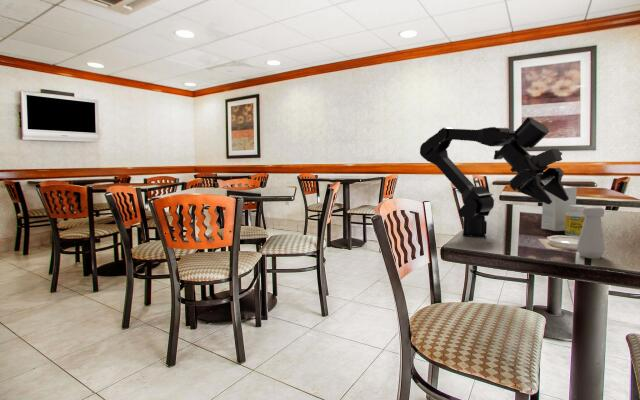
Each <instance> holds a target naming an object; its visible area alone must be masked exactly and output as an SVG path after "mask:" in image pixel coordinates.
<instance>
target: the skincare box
mask: <svg viewBox="0 0 640 400" xmlns="http://www.w3.org/2000/svg"><path fill="white" fill-rule="evenodd" d="M563 188H564V190H565V192H566V194H567V196H568V198H569V200H567V201H563V200H561V199H560V198H558V197H556V196H554V195H553V194H551V193H549V192H547V191H546V190H545V192H546V193H547V195H548V196H549V197H550V199H551V200H552V203H551V204H546V203H544V202H542V211H541V212H542V213H541V227H540V228H541V229H542V230H549V231H553V232H561V231H562V232H563V231H565V221H566V213H567V212H568V211H570V210H569V205H577V194H578V193H577V192H578V187H576V186H571V185H570V186H568V185H563Z"/></svg>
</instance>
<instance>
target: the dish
mask: <svg viewBox="0 0 640 400" xmlns="http://www.w3.org/2000/svg"><path fill="white" fill-rule="evenodd" d="M579 237H580V236H572V235H561V234H560V235H559V234H557V235H556V234H555V235H550V236H547V237H546V239H548V244H549V245H551V246H555V247H559V248H564V249H573V250H572V251H578V250H577V244H578V241H579Z"/></svg>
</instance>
